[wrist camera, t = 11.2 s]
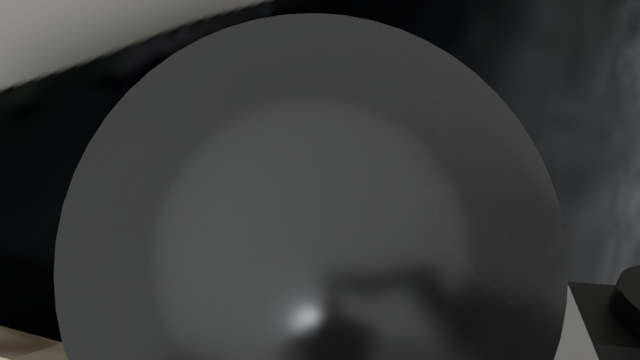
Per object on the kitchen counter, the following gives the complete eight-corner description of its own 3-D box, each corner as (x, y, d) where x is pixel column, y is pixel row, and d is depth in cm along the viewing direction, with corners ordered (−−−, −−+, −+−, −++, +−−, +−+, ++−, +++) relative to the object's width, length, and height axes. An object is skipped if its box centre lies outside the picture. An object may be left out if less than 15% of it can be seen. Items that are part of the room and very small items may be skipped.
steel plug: (408, 202, 16) (668, 29, 4) (372, 370, 15) (621, 761, 3) (253, 162, 16) (117, -104, 5) (203, 324, 15) (-176, 527, 3)
